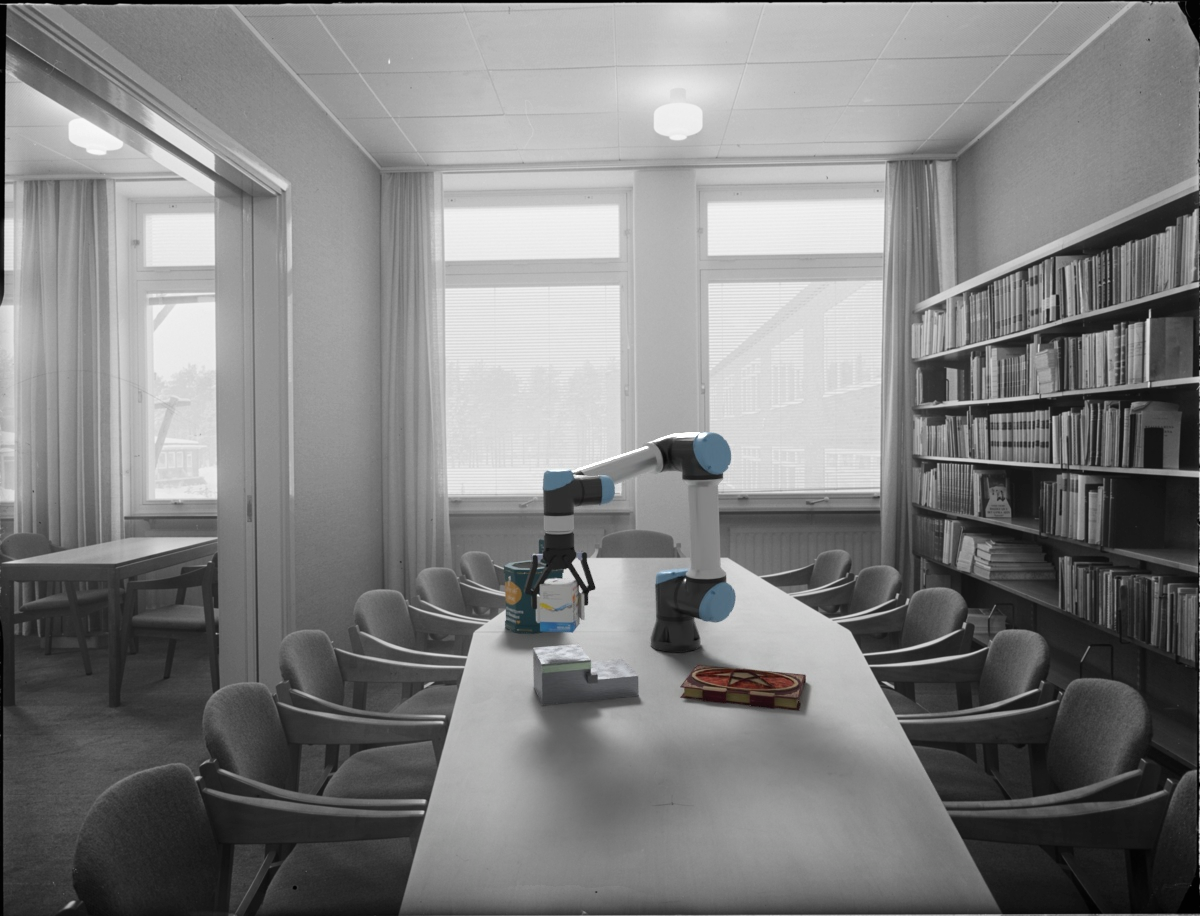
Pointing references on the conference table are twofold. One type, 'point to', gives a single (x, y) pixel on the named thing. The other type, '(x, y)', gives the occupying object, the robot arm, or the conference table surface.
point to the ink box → (559, 605)
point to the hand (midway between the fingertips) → (560, 620)
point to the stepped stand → (579, 676)
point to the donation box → (523, 594)
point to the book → (744, 687)
